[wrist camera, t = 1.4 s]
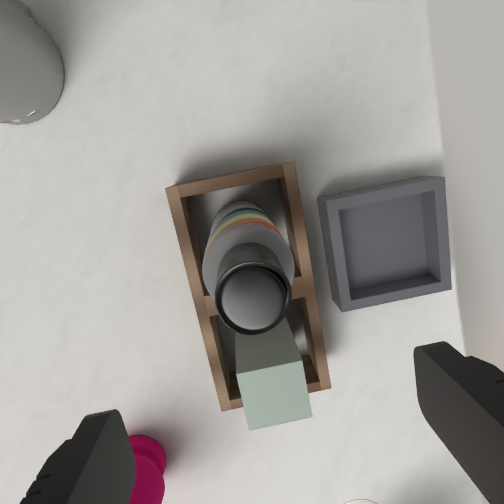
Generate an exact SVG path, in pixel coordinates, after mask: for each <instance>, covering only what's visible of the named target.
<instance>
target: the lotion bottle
mask: <svg viewBox="0 0 504 504" xmlns="http://www.w3.org/2000/svg"><path fill="white" fill-rule="evenodd" d="M294 271H295V266H294V259H293V255H292V253H291V250H290V248H289V246H288V245H287V243H286V241H285V240H284V238H283V237H282V236H281V234H280V233H279V231H278V230H277V229H276V227H275V226H274V225H273V223H272V222H271V220H270V219H269V218H268V216H267V215H266V214H265V212H264V211H263V210H262V209H261V208H260V207H258V206H257V205H255V204H253V203H250V202H246V201H236V202H232V203H230V204H228V205H226V206H225V207H223V208H222V209H221V210H220V211H219V213H218V214H217V216H216V217H215V220H214V222H213V226H212V229H211V233H210V236H209V240H208V243H207V247H206V250H205V254H204V259H203V265H202V274H203V280H204V283H205V286H206V288H207V290H208V292H209V294H210V295H211V297H212V298H213V299H214V300H215V306H216V309H217V312H218V314H219V316H220V318H221V320H222V321H223V322H224V323H225V324H226V325H227V326H228V327H229V328H230V329H232V330H233V331H235V332H237V333H239V334H243V335H259V334H262V333H265V332H267V331H269V330H271V329H273V328H274V327H275V326H277V325H278V324H279V323H280V322H281V321H282V319H283V318H284V317H285V315H286V314H287V312H288V310H289V307H290V304H291V300H292V289H291V285H292V282H293V279H294Z"/></svg>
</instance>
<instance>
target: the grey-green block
mask: <svg viewBox="0 0 504 504" xmlns="http://www.w3.org/2000/svg"><path fill="white" fill-rule="evenodd" d="M235 353H236V376H237V380H238V385H239V389H240V393H241V397H242V402H243V406H244V410H245V414H246V419H247V423H248V427H249V430H254V429H259V428H264V427H268V426H273V425H278V424H282V423H287V422H292V421H297V420H301V419H306V418H311V417H312V412H311V406H310V401H309V395H308V390H307V384H306V379H305V373H304V368H303V362H302V359H301V356H300V353H299V351H298V348H297V345H296V342H295V340H294V337H293V334H292V331H291V329H290V326H289V323H288V320H287V318H286V315H285V317H284V318H283V319H282V321H281V322H280V323H279V324H278V325H277V326H275V327H274V328H273V329H271V330H269V331H267V332H265V333H262V334H259V335H243V334H239V333H237V332H235Z"/></svg>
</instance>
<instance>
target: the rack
mask: <svg viewBox="0 0 504 504" xmlns="http://www.w3.org/2000/svg"><path fill="white" fill-rule="evenodd" d="M275 178H278V182H279V188H280V193H281V199H282V205H283V210H284V216H285V222H286V227H287V233H288V239H289V244H290V250H291V253H292V255H293V259H294V266H295V271H294V279H293V282H292V285H291V289H292V299H297V298H299V301H300V307H301V312H302V318H303V324H304V329H305V335H306V341H307V346H308V352H309V355H308V356H304V357H301V359H302V362H303V368H304V373H305V379H306V384H307V390H308V393H312V392H316V391H321V390H326V389H331V383H330V377H329V371H328V365H327V358H326V352H325V346H324V340H323V334H322V328H321V322H320V316H319V309H318V303H317V297H316V291H315V285H314V279H313V273H312V267H311V261H310V254H309V248H308V242H307V236H306V230H305V224H304V218H303V212H302V205H301V199H300V193H299V187H298V181H297V175H296V169H295V163H294V162H285V163H280V164H275V165H270V166H265V167H260V168H255V169H250V170H245V171H240V172H236V173H231V174H226V175H221V176H216V177H211V178H206V179H201V180H196V181H191V182H187V183H182V184H177V185H173V186H170V187H168V188H165V190H166V194H167V198H168V202H169V206H170V210H171V214H172V218H173V221H174V225H175V229H176V233H177V237H178V241H179V245H180V249H181V253H182V257H183V261H184V265H185V269H186V273H187V277H188V281H189V285H190V288H191V292H192V296H193V300H194V304H195V308H196V312H197V316H198V320H199V324H200V328H201V332H202V336H203V340H204V344H205V348H206V352H207V356H208V359H209V363H210V367H211V371H212V375H213V379H214V383H215V387H216V391H217V395H218V399H219V403H220V407H221V411H226V410H231V409H236V408H240V407H244V406H243V402H242V397H241V393H240V389H239V385H238V380H237V376H236V371H232V372H229V367H228V363H227V359H226V355H225V351H224V347H223V342H222V338H221V334H220V330H219V326H218V322H217V317H216V315H219V314H218V312H217V309H216V306H215V300H214V299H213V298H212V297H211V295H210V294H209V292H208V290H207V288H206V286H205V283H204V280H203V274H202V265H203V259H202V255H201V251H200V246H199V242H198V238H197V234H196V230H195V226H194V221H193V217H192V213H191V209H190V205H189V201H188V196H191V195H196V194H201V193H206V192H211V191H216V190H221V189H226V188H231V187H235V186H240V185H245V184H250V183H255V182H260V181H265V180H270V179H275Z"/></svg>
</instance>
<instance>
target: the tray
mask: <svg viewBox="0 0 504 504" xmlns="http://www.w3.org/2000/svg"><path fill="white" fill-rule="evenodd" d="M317 202H318V208H319V215H320V221H321V228H322V235H323V241H324V248H325V254H326V261H327V268H328V274H329V281H330V287H331V294H332V299H333V301H334V302H335V303H336V305H337V306H338V307H339V309H340V310H341V311H342V312H346V311H350V310H355V309H360V308H365V307H370V306H374V305H379V304H384V303H389V302H394V301H398V300H403V299H408V298H413V297H418V296H422V295H427V294H432V293H437V292H441V291H446V290H451V289H452V285H451V269H450V254H449V238H448V223H447V207H446V192H445V177H436V176H421V177H416V178H411V179H406V180H401V181H397V182H392V183H387V184H382V185H377V186H372V187H367V188H362V189H358V190H353V191H348V192H343V193H338V194H333V195H328V196H324V197H319V198H317Z"/></svg>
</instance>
